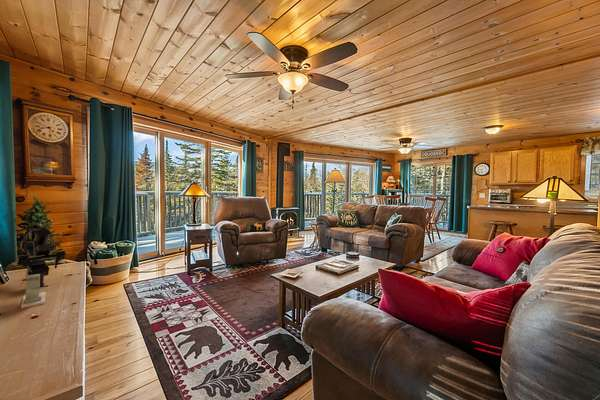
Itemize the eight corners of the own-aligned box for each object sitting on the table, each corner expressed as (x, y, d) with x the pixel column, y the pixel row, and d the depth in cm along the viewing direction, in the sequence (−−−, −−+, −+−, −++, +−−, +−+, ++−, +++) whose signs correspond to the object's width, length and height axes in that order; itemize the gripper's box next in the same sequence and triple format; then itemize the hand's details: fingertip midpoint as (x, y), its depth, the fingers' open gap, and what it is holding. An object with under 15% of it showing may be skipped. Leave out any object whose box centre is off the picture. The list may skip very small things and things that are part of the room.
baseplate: (23, 297, 131) (24, 295, 131) (45, 293, 136) (45, 291, 136) (21, 308, 119) (21, 305, 119) (44, 303, 125) (44, 300, 125)
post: (26, 299, 125) (27, 275, 125) (39, 297, 129) (40, 273, 128) (25, 302, 122) (26, 277, 122) (38, 300, 125) (39, 276, 125)
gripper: (18, 240, 131) (21, 265, 124) (65, 237, 146) (70, 258, 140) (15, 252, 135) (18, 277, 129) (61, 248, 150) (65, 269, 144)
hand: (44, 270), depth 135 cm, fingers open, 9 cm apart
